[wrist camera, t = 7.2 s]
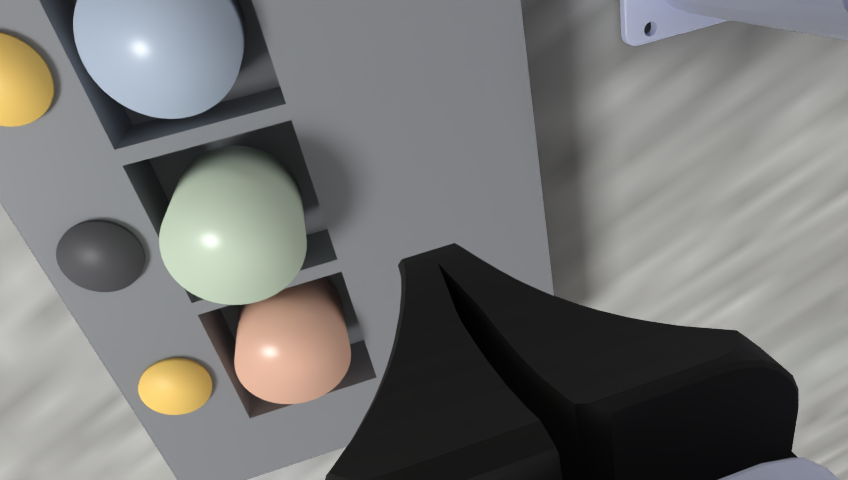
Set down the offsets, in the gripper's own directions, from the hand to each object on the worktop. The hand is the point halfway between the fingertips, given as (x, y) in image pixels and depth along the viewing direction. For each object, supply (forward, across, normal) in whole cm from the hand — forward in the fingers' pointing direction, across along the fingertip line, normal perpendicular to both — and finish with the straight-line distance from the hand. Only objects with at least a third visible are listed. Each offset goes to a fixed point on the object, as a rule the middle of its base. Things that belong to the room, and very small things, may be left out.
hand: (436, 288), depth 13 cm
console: (+10, +3, 0) cm, 11 cm away
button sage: (+8, +5, 0) cm, 9 cm away
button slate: (+9, +5, -6) cm, 12 cm away
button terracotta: (+9, +5, +5) cm, 12 cm away
